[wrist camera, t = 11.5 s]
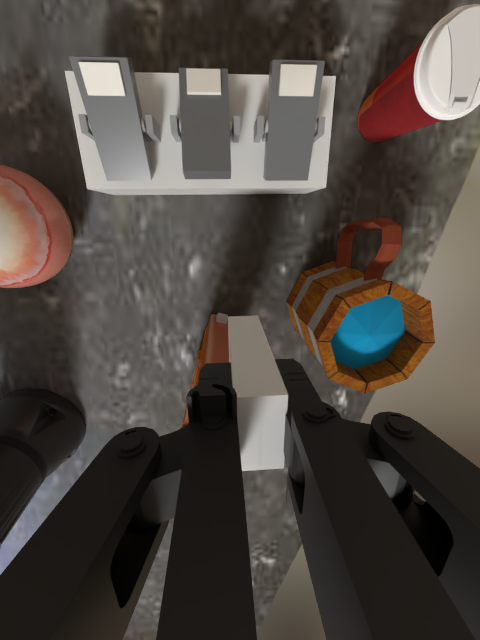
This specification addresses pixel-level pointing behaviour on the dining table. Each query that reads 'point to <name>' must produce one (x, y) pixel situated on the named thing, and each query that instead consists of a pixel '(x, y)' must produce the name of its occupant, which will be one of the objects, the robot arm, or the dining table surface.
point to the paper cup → (429, 80)
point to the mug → (362, 315)
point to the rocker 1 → (114, 115)
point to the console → (166, 143)
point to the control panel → (211, 349)
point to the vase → (31, 231)
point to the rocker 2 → (205, 123)
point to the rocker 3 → (291, 118)
